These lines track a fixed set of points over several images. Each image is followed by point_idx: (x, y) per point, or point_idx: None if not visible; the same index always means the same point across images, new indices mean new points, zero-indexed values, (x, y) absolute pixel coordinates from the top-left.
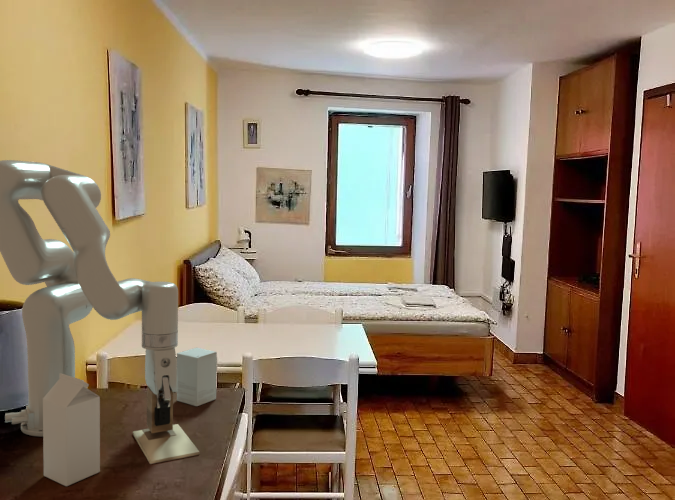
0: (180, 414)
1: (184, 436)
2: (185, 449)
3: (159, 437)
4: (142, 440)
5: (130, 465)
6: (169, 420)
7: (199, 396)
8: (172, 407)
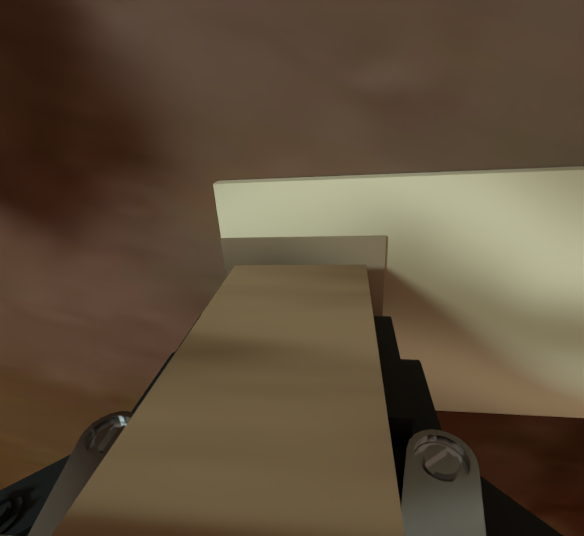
0: (25, 116)
1: (431, 195)
2: None
3: None
4: None
5: (570, 464)
6: (391, 328)
7: None
8: (380, 368)
